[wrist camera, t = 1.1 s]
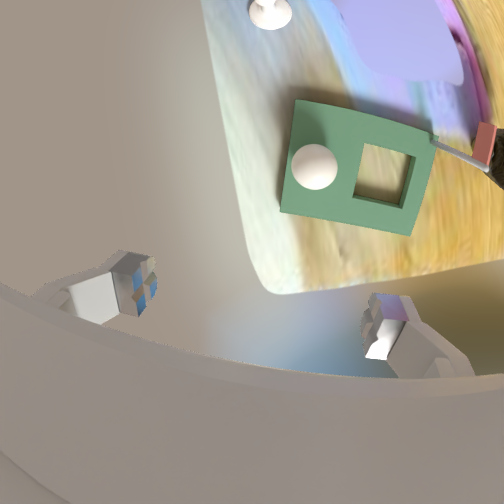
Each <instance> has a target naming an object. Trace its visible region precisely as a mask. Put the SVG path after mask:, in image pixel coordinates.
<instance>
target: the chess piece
mask: <svg viewBox="0 0 504 504" xmlns="http://www.w3.org/2000/svg"><path fill="white" fill-rule="evenodd" d="M249 16H250V19H251V21H252V22H253V23H254V24H255V25H256V26H258V27H260V28H263V29H268V30H273V29H278V28H281V27H283V26H285V25H286V24H287V23H288V22H289V21H290V19H291V16H292V10H291V7H290V5H289V4H288V2H287V1H286V0H254V1H253V2H252V4H251V6H250V8H249Z"/></svg>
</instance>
